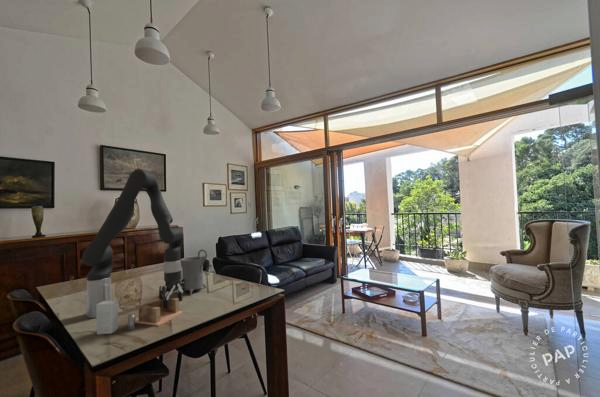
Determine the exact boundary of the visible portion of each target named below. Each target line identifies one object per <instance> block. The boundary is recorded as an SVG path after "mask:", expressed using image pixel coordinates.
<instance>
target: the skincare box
mask: <svg viewBox="0 0 600 397" xmlns="http://www.w3.org/2000/svg"><path fill="white" fill-rule="evenodd" d="M118 308H119V306H118V300H111V301H103V302H101V303H99V304H97V305H96V312H97V317H96V335H105V334H106V335H109V334H113V333H115V331H117V330H118V329H119V320H118V319H119V317H118V316H119V315H118V314H119V313H118V311H119V310H118Z"/></svg>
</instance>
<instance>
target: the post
mask: <svg viewBox="0 0 600 397" xmlns="http://www.w3.org/2000/svg"><path fill="white" fill-rule="evenodd" d="M135 316H136V315H135V313H130V314H128V315H127V329H128V330H127V331H133V330H135V329H136V323H135V319H136V317H135Z"/></svg>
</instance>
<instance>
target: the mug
mask: <svg viewBox="0 0 600 397" xmlns="http://www.w3.org/2000/svg"><path fill="white" fill-rule="evenodd" d="M201 252H204V254H205V255H203V256H201V255H200V253H201ZM207 258H208V252H207V251H206V249H200V250H199V251H198V252H197V256H196V255H195V256H188V257H183V258H181V275H182V279H185V281H186V290H185V291H189V295H190V296H191V295H193V292H194V290H198V289H201V288H207V286H206V283H204V272H203V271H204V270H203V268H204V266H203V265H204V263H205V261H206V260H207Z"/></svg>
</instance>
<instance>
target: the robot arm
mask: <svg viewBox="0 0 600 397" xmlns="http://www.w3.org/2000/svg"><path fill="white" fill-rule="evenodd" d="M142 190H144V191H145V193H146V194H147V196H148V197H149V201H150V211H151V214H152V216H153V219H154V221H155V223H156V224H157V229H158V235H159V238H160V240H161V241H162V242H163V243H164V244H168V245H169V246H168V247H166V249H165V250H164V253H163V254H164V255H163V256H164V259H163V260H164V261H163V262H164V263H163V280H164V282H165V284H164V285H160V286H159V290H158V299H160V300H163V307H164V308H168V307H169V299H168V298H170V297H171V295H172V294H173V293H174V292H177V298H178V299H179V302H182V301H183V297H184V295H183V293H184V291H187V290H186V281H185V279H182V263H181V259H182V258H181V250H182V248H183V242H184V232H183V230H182V229H181V228H180V227H171V224H172V223H173V222H174V220H173V217H172V215H171V212H170V211H169V208H168V207H167V205H166V202H165V200H164V197H163V195H162V190H161V188H160V185H159V181H158V178H157V176H156V175H155V174H154V173H153V172H152V171H148V170H146V169H141V168H137V169H134V170H133V171H132V172H130V175H129V177H128V179H126V183H125V185H124V187H123V188H122V191H121V194H120V195H119V196H118V198H117V199H116V202H115V204H114V205H113V206H112V208H111V210H110V212H109V213H108V214H107V217H106V219H105V220H104V222H103V223H102V225H101V227H100V228H99V230H98V232H97V233H96V234H95V236H94V238H93V239H92V240H91V242H90V243H89V244H88V246H87V247H86V248H85V249H84V251H83V253H82V259H81V260H82V262H83V263H84V264H85V265H86V266H88V267H92V268H91V270H90V271H89V272H88V273H87V275H86V296H85V316H86V317H87V318H89V319H95V318H96V319H97V312H96V305H97V304H99V303H101V302H103V301H112V277H111V275H112V271H113V269H114V251H113V248H112V247H111V245H110V244H111V242H113V240H114V239H116V238H117V236H119V235H120V234H121V232H123V231H124V230H125V229H126V227H127V226H128V225H129V223H130V222H131V220H132V219H133V216H134V215H135V214H134V213H135V202H136V199H137V196H138V195H139V194H140V192H141V191H142Z"/></svg>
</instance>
